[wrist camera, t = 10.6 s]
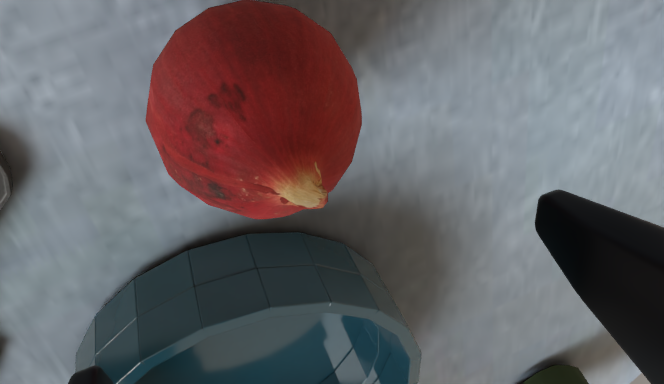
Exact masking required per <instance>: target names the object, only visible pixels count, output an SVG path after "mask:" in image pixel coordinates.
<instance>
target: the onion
mask: <svg viewBox="0 0 664 384" xmlns="http://www.w3.org/2000/svg"><path fill="white" fill-rule="evenodd" d="M146 123H147V125H148V127H149V130H150V132H151V135H152V137H153V139H154V142H155V144H156V146H157V149H158V151H159V153H160V156H161V158H162V160H163V163H164V165H165V167H166V170H167V172H168V174H169V175H170V176H171V177H172V178H173V179H174V180H175V181H176V182H177V183H178V184H179V185H180V186H181V187H183V188H184V189H186V190H187V191H189V192H190V193H192V194H193V195H195V196H196V197H198V198H199V199H201V200H202V201H204V202H205V203H206V204H208V205H211V206H214V207H218V208H221V209H224V210H227V211H230V212H234V213H237V214H240V215H243V216H246V217H250V218H254V219H270V218H278V217H285V216H289V215H291V214H294V213H296V212H298V211H301V210H303V209H319V208H323V207H324V205H325V204H326V203H327V201H328V193H329V192H331V191H332V190H333V189H334V188H335V186H336V185H337V183H338V182H339V180H340V179H341V177H342V176H343V174H344V173H345V171H346V170H347V168H348V167H349V165H350V164H351V162H352V159H353V155H354V152H355V148H356V144H357V140H358V137H359V133H360V129H361V125H362V113H361V106H360V99H359V92H358V85H357V79H356V76H355V74H354V72H353V70H352V67H351V65H350V64H349V62H348V60H347V59H346V57H345V56H344V54H343V52H342V51H341V49H340V47H339V46H338V44H337V42H336V41H335V39H334V38H333V36H332V34H331V33H330V32H329V31H327V30H326V29H324V28H323V27H321V26H320V25H318V24H317V23H316V22H314V21H313V20H311V19H310V18H308V17H307V16H305V15H304V14H303V13H301V12H300V11H298V10H297V9H295V8H292V7H289V6H285V5H279V4H273V3H267V2H260V1H254V0H241V1H237V2H233V3H228V4H224V5H220V6H215V7H211V8H208V9H207V10H205V11H204V12H202V13H201V14H199V15H198V16H196V17H195V18H193V19H192V20H190V21H189V22H187V23H186V24H184V25H183V26H182V27H180V28H179V29H177V30H176V31H175V32H174V34H173V35H172V37H171V38H170V40H169V42H168V43H167V45H166V46H165V48H164V49H163V51H162V52H161V54H160V55H159V57H158V58H157V60H156V61H155V63H154V64H153V70H152V76H151V83H150V91H149V98H148V105H147V114H146Z"/></svg>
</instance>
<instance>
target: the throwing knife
mask: <svg viewBox="0 0 664 384" xmlns="http://www.w3.org/2000/svg"><path fill="white" fill-rule="evenodd" d="M12 187H13V183H12V177H11V171H10V166H9V165H8V163H7V161H6V160H5V158H4V156H3V155H2V153H1V151H0V210H1V209H2V207H3V206H4V204H5V203H6V201H7V200H8V199H9V197H10V196H11V192H12Z"/></svg>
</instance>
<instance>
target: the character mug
mask: <svg viewBox="0 0 664 384" xmlns="http://www.w3.org/2000/svg"><path fill="white" fill-rule="evenodd" d="M523 384H589V383H588V382H587V380H586V379H585V377H584V376H583V374H582V373H581V371H580V370H579V369H578V368H577V367H573V366H570V365H554V366H551V367H549V368H547V369H544V370H542V371H540V372H538V373H536V374H535V375H533V376H532V377H531V378H529V379H528V380H526V381H525V382H524V383H523Z"/></svg>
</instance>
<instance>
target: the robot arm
mask: <svg viewBox="0 0 664 384" xmlns="http://www.w3.org/2000/svg"><path fill="white" fill-rule="evenodd" d="M535 228H536V231H537V233H538V235H539V237H540V238H541V240H542V241H543V243H544V244H545V246H546V247H547V249H548V250H549V252H550V253H551V255H552V256H553V258H554V259H555V261H556V263H557V264H558V266H559V267H560V269H561V270H562V272H563V273H564V275H565V276H566V278H567V279H568V281H569V282H570V284H571V285H572V287H573V288H574V290H575V291H576V292H577V294H578V295H579V296H580V298H581V299H582V300H583V301H584V303H585V304H586V305H587V306H588V308H589V309H590V310H591V311H592V312H593V314H594V315H595V316H596V317H597V318H598V320H599V321H600V322H601V323H602V325H603V326H604V327H605V328H606V329H607V331H608V332H609V333H610V334H611V336H612V337H613V338H614V339H615V340H616V342H617V343H618V344H619V345H620V346H621V348H622V349H623V350H624V351H625V353H626V354H627V355H628V356H629V357H630V359H631V360H632V361H633V362H634V363H635V365H636V366H637V367H638V368H639V370H640V371H641V372H642V373H643V374H644V376H646V378H647V379H648V381H649V382H650V383H651V384H664V227H661V226H658V225H656V224H653V223H650V222H647V221H645V220H642V219H639V218H637V217H634V216H631V215H628V214H626V213H623V212H620V211H618V210H615V209H612V208H609V207H607V206H604V205H601V204H598V203H596V202H593V201H590V200H588V199H585V198H582V197H579V196H577V195H574V194H571V193H569V192H566V191H563V190H554V191H551V192H549V193H546V194H544V195H542V196H540V198H539V200H538V206H537V212H536V219H535ZM68 384H114V383H113V381H112V380H111V379H110V378H109V377H108V375H107V374H106V373H105V372H104V371H103V369H102V368H101V367H100V366H97V365H94V366H91V367H88V368H86V369H83V370H81V371H78V372H76V373H75V374H74V375H73V376H72V377H71V379H70V381H69V383H68Z"/></svg>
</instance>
